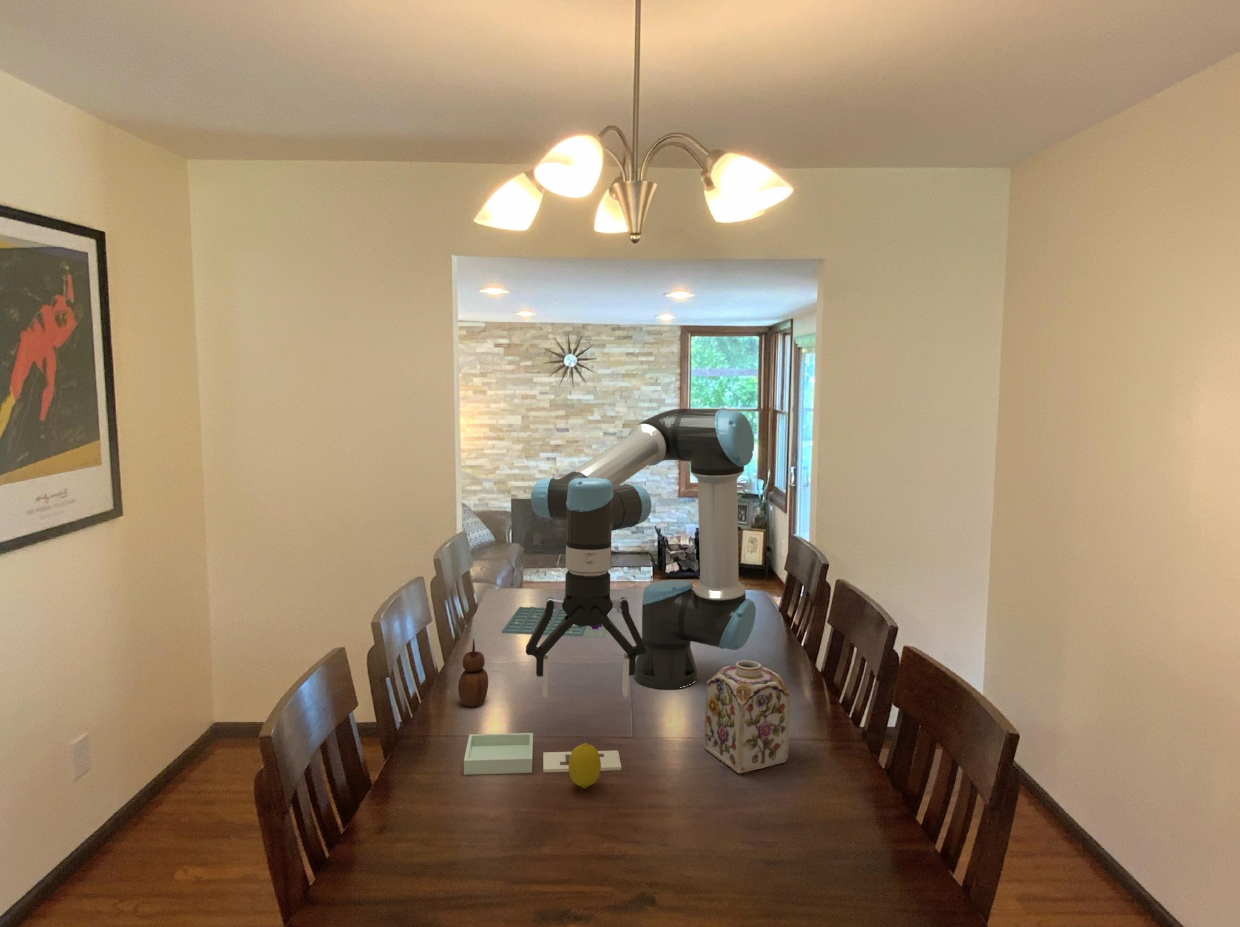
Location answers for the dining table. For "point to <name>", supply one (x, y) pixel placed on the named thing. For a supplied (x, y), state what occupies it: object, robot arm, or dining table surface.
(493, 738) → the dish
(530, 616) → the calendar
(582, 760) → the lemon
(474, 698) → the wooden figurine
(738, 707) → the decorative jar
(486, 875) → the dining table surface
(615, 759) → the tile
